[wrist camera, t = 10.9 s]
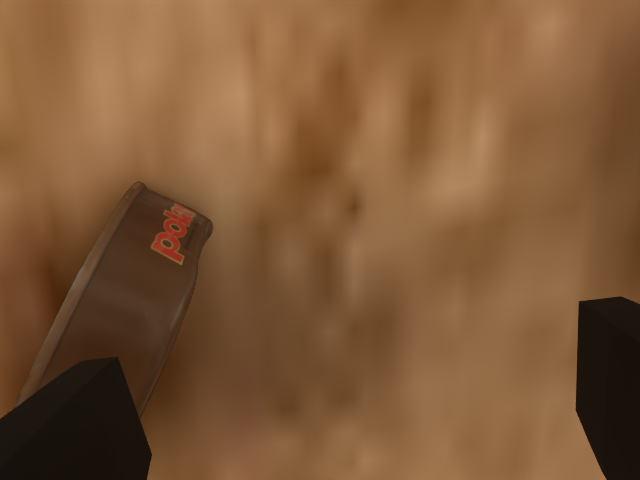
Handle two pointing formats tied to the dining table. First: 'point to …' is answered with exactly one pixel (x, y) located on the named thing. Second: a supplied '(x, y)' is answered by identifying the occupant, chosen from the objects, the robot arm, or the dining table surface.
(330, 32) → the dining table surface
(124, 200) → the tin
